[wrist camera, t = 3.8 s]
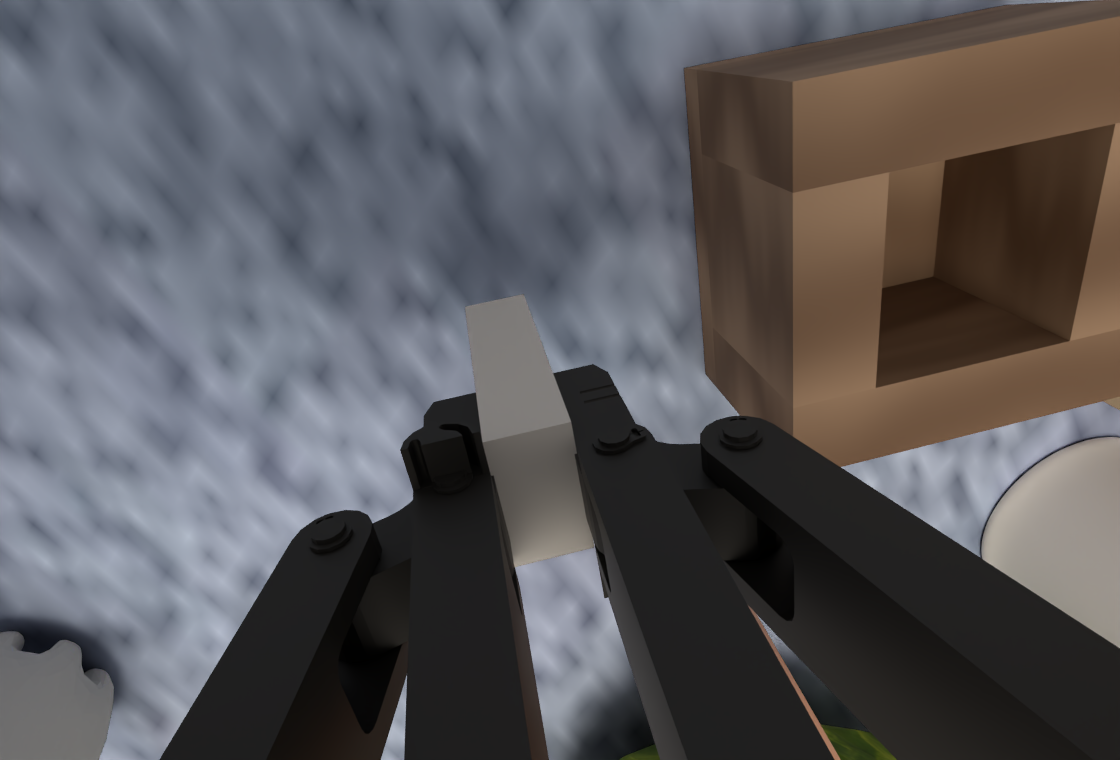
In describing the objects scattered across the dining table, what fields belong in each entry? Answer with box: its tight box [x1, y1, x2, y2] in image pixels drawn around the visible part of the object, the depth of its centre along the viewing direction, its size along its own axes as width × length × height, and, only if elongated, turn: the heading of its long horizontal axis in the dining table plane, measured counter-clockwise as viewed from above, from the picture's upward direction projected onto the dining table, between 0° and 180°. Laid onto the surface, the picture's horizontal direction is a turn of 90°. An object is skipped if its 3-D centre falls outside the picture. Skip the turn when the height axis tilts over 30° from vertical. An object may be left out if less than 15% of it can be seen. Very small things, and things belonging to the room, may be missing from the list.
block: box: [684, 0, 1120, 467], centre depth 19 cm, size 10×10×6 cm
